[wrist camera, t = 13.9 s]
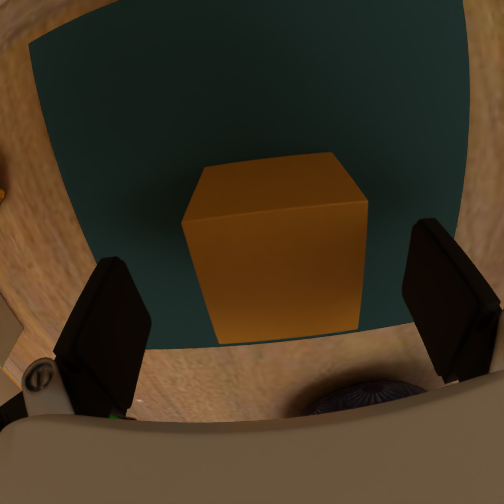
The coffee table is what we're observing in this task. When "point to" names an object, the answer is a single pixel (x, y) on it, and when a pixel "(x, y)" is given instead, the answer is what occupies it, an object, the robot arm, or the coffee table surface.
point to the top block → (278, 247)
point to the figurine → (1, 194)
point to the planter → (363, 396)
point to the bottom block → (7, 331)
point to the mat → (254, 127)
